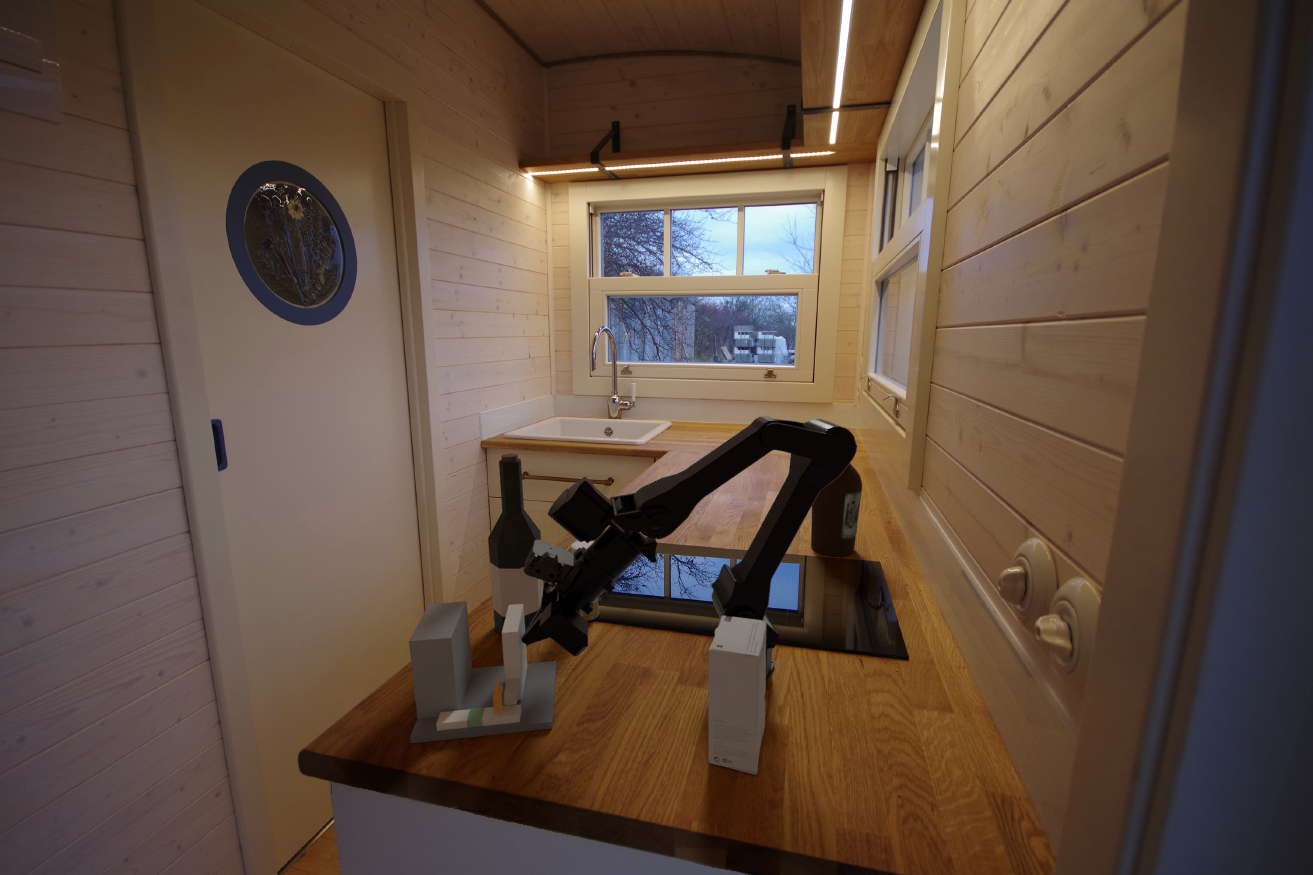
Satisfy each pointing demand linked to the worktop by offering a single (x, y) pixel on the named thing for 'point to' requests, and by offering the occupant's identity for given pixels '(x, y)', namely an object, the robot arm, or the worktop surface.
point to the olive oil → (837, 515)
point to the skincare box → (737, 693)
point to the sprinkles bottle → (595, 611)
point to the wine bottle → (513, 549)
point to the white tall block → (514, 654)
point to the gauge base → (469, 683)
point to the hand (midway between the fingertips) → (524, 641)
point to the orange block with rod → (498, 697)
